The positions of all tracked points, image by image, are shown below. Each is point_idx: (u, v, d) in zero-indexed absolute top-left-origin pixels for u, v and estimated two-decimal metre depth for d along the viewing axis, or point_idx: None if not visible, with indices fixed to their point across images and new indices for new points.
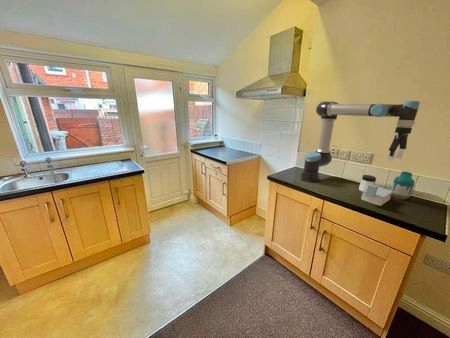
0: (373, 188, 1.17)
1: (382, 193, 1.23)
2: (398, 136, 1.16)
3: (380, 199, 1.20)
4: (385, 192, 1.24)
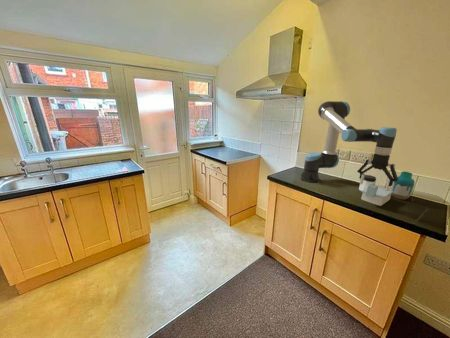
0: (373, 188, 1.17)
1: (382, 193, 1.23)
2: None
3: (380, 199, 1.20)
4: (385, 192, 1.24)
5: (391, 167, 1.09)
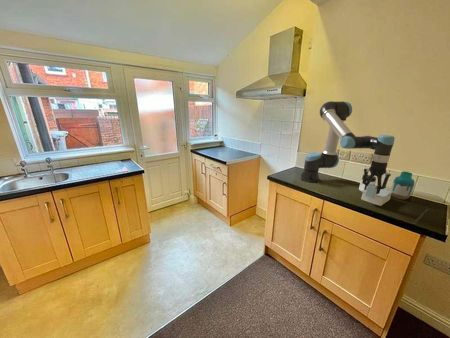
0: (373, 188, 1.17)
1: (382, 193, 1.23)
2: None
3: (380, 199, 1.20)
4: (385, 192, 1.24)
5: (386, 176, 1.11)
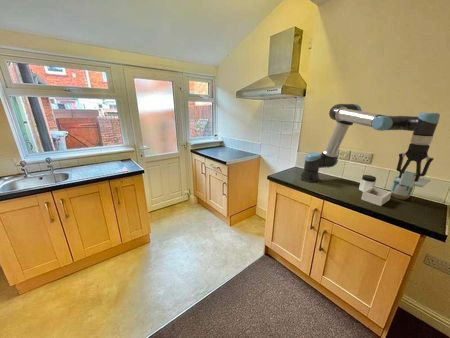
0: (411, 175, 1.01)
1: (419, 182, 1.07)
2: None
3: (380, 199, 1.20)
4: (422, 181, 1.08)
5: (428, 161, 0.96)
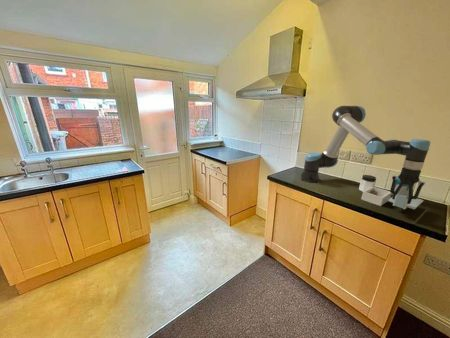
0: (403, 198, 1.06)
1: (412, 203, 1.11)
2: None
3: (380, 199, 1.20)
4: (415, 201, 1.13)
5: (420, 185, 1.00)
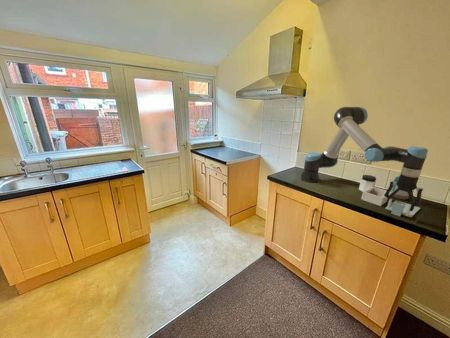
0: (400, 206, 1.07)
1: None
2: None
3: (380, 199, 1.20)
4: None
5: (419, 192, 1.01)
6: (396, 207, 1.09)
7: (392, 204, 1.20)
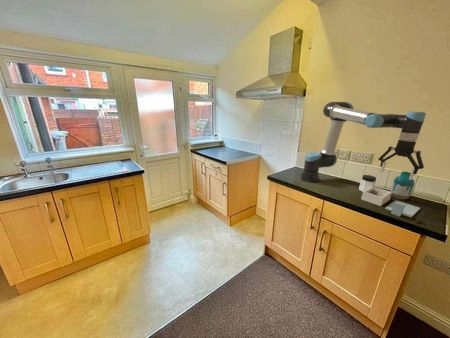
0: (400, 206, 1.07)
1: (409, 211, 1.13)
2: None
3: (380, 199, 1.20)
4: (412, 209, 1.14)
5: (417, 154, 1.03)
6: (396, 207, 1.09)
7: (392, 204, 1.20)
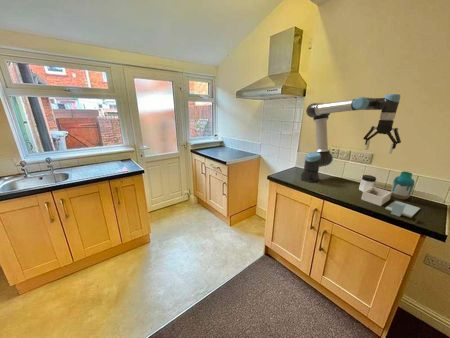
0: (400, 206, 1.07)
1: (409, 211, 1.13)
2: None
3: (380, 199, 1.20)
4: (411, 209, 1.14)
5: (395, 131, 1.20)
6: (396, 207, 1.09)
7: (392, 204, 1.20)
